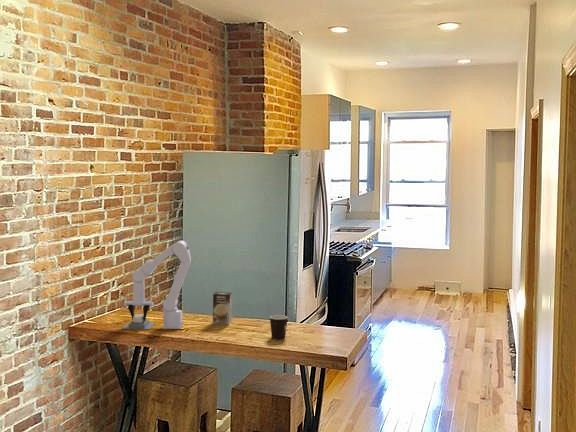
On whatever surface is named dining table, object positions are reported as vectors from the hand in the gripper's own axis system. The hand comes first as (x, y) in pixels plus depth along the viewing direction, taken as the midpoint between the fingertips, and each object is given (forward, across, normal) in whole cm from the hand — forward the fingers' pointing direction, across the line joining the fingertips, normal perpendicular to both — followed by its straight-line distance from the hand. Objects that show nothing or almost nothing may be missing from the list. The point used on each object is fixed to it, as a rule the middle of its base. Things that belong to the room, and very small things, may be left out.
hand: (138, 319), depth 332 cm
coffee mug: (+4, -70, +17) cm, 72 cm away
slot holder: (+3, 0, 0) cm, 3 cm away
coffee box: (+4, -41, -10) cm, 42 cm away
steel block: (+3, 0, 0) cm, 3 cm away
